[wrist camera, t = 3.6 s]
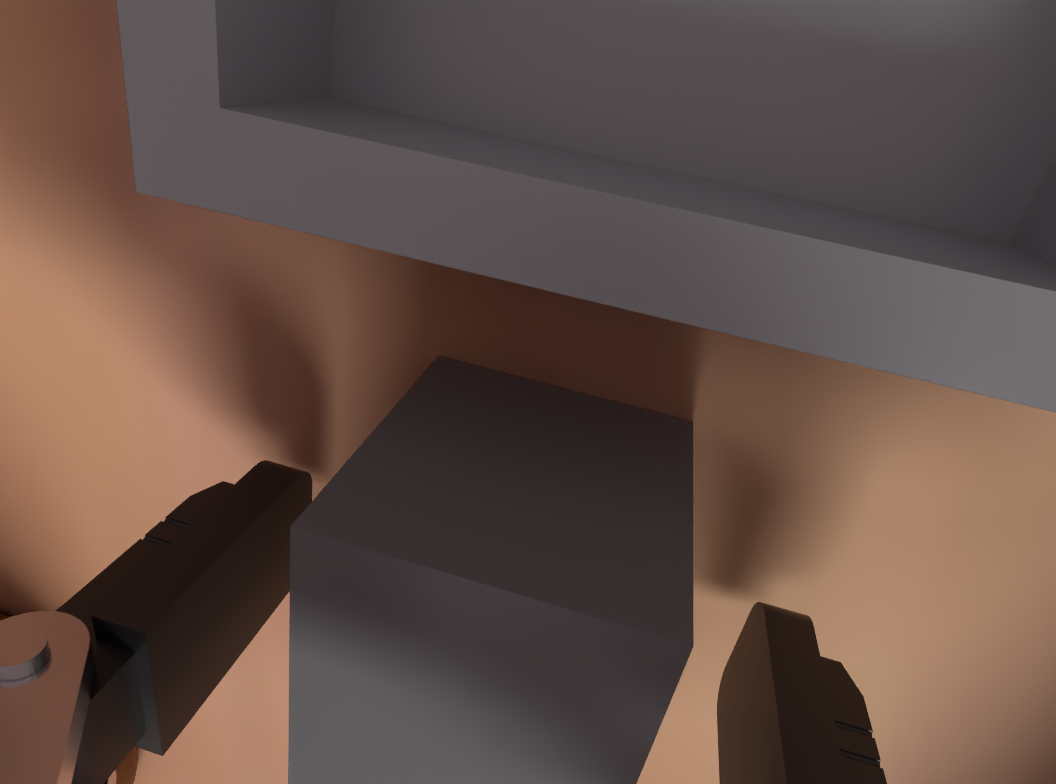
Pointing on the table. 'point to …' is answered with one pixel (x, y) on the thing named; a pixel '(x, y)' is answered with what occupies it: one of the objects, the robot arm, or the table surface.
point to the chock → (492, 590)
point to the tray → (648, 157)
